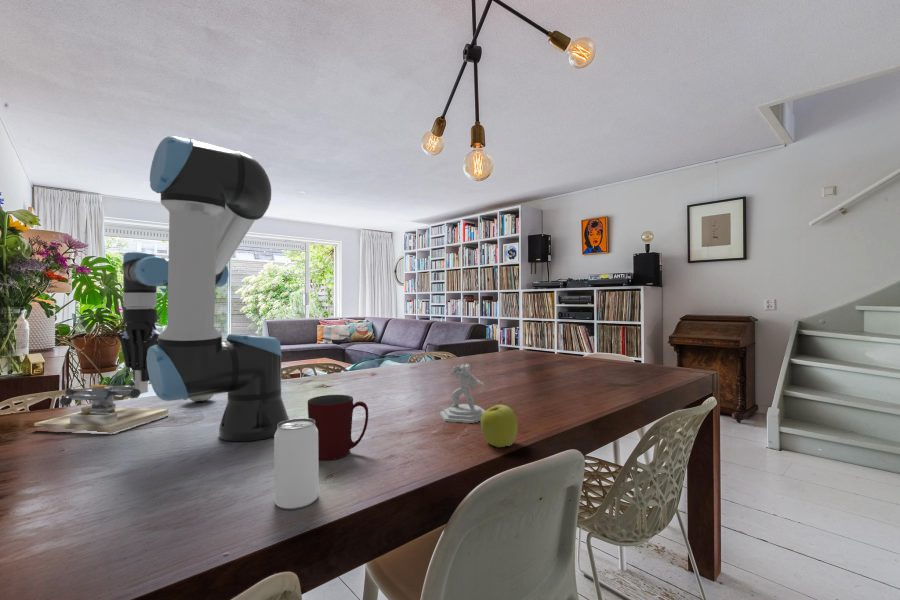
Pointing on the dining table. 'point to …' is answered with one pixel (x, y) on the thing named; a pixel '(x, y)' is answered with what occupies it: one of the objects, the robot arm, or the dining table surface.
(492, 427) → the apple
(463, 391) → the figurine
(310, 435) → the can
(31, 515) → the dining table surface
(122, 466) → the dining table surface
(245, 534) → the dining table surface
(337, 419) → the mug
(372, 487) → the dining table surface
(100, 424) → the stand
